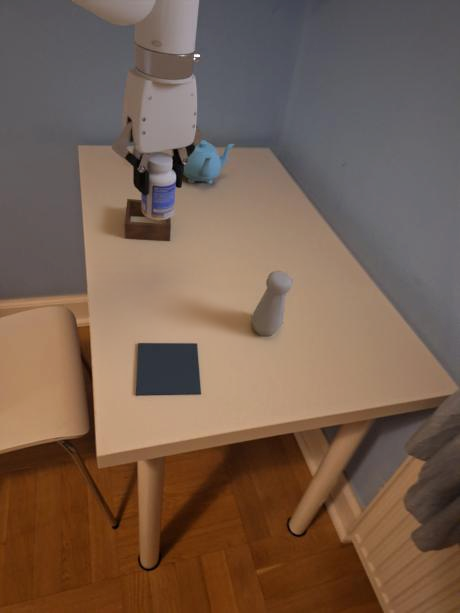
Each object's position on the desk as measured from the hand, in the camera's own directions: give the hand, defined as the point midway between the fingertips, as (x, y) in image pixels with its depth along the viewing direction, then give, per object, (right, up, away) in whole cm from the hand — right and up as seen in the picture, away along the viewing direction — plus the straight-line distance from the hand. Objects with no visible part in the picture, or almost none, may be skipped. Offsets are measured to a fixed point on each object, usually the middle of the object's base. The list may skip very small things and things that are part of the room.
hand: (158, 186), depth 65 cm
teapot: (+3, +16, +47) cm, 50 cm away
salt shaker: (+18, -24, +11) cm, 32 cm away
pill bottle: (-1, -4, +4) cm, 5 cm away
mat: (+1, -30, +1) cm, 30 cm away
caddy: (-7, -1, +27) cm, 28 cm away
